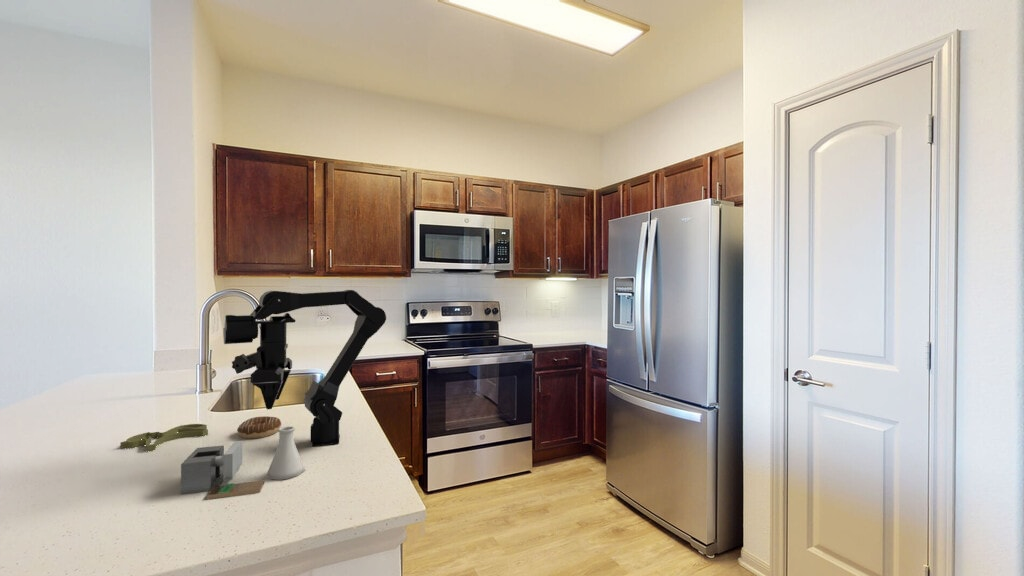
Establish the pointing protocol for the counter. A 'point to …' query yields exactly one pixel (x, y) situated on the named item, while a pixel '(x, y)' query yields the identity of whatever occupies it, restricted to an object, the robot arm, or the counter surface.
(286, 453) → the flask
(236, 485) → the gauge housing
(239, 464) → the gauge plunger
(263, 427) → the donut
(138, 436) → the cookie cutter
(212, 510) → the counter surface
